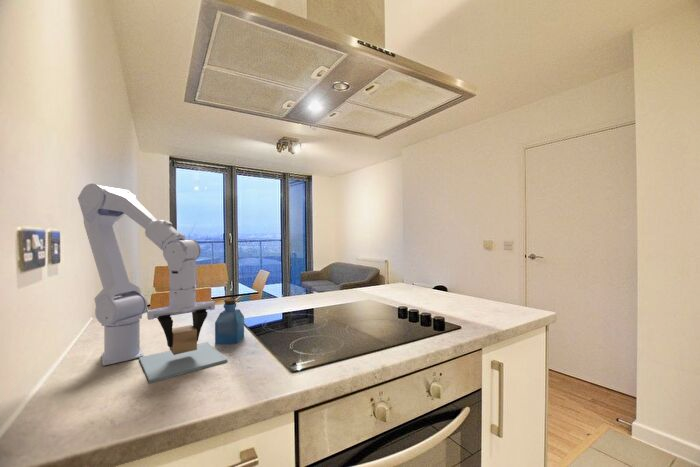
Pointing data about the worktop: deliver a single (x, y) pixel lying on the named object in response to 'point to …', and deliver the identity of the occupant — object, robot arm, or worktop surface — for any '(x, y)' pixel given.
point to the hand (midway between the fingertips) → (183, 343)
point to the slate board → (180, 362)
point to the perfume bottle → (229, 324)
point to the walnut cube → (184, 339)
